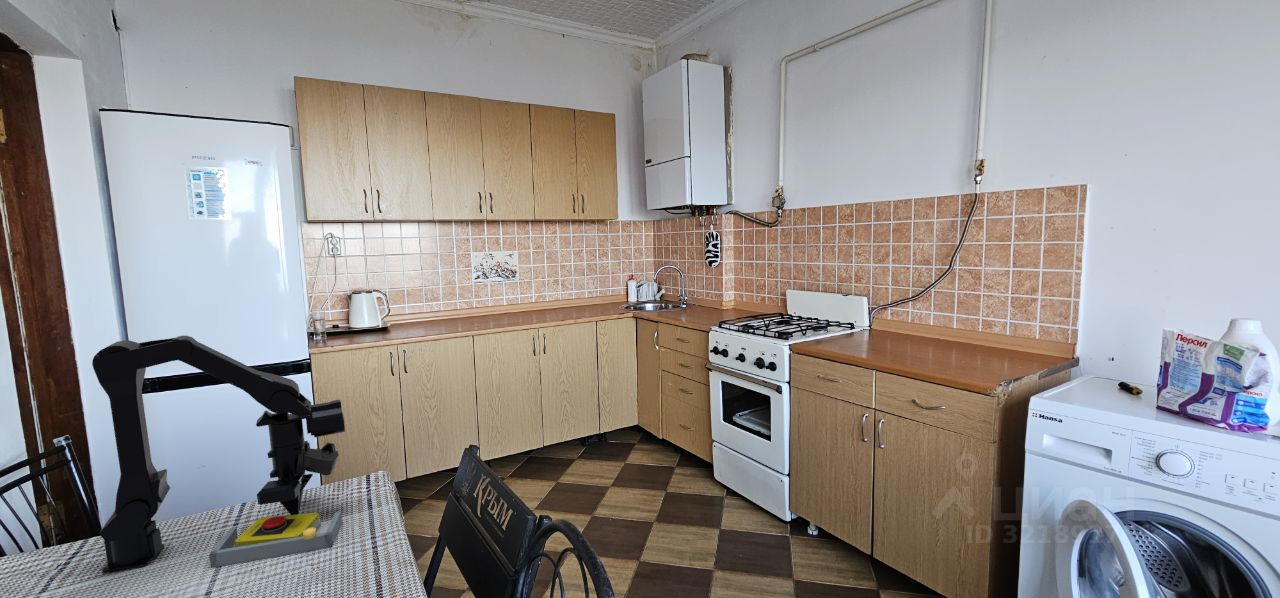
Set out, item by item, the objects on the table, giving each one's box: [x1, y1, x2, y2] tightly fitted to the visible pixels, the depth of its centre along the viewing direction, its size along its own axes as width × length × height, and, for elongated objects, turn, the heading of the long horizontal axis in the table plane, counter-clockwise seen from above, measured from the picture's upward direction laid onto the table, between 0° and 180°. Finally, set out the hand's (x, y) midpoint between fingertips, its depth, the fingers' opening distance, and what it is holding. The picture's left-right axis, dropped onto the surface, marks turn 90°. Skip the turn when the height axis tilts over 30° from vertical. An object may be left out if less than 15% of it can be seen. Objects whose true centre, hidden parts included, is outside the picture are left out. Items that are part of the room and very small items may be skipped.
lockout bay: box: [208, 510, 343, 568], centre depth 103 cm, size 19×10×4 cm, turn 107°
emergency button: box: [234, 512, 331, 547], centre depth 104 cm, size 9×4×15 cm
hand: (295, 515), depth 112 cm, fingers closed
